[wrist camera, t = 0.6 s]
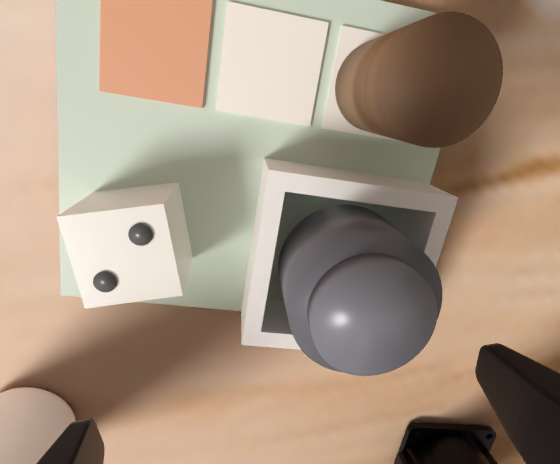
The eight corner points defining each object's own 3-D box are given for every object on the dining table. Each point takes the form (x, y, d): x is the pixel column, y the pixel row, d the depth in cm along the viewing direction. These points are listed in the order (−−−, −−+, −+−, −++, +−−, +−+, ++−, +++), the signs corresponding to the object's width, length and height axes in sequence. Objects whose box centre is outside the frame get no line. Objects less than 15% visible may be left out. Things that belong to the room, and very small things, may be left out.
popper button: (415, 213, 18) (478, 255, 13) (383, 324, 20) (428, 394, 15) (289, 196, 17) (309, 234, 12) (269, 313, 19) (279, 385, 14)
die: (178, 181, 18) (163, 204, 15) (193, 257, 20) (182, 296, 16) (93, 191, 18) (55, 217, 14) (114, 267, 20) (84, 310, 16)
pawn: (429, 48, 17) (520, 27, 12) (406, 138, 19) (478, 156, 13) (345, 31, 17) (399, -2, 11) (326, 124, 18) (367, 137, 12)
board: (467, 24, 18) (527, 6, 14) (383, 317, 23) (412, 359, 20) (62, -65, 16) (6, -117, 12) (67, 287, 21) (28, 330, 17)
